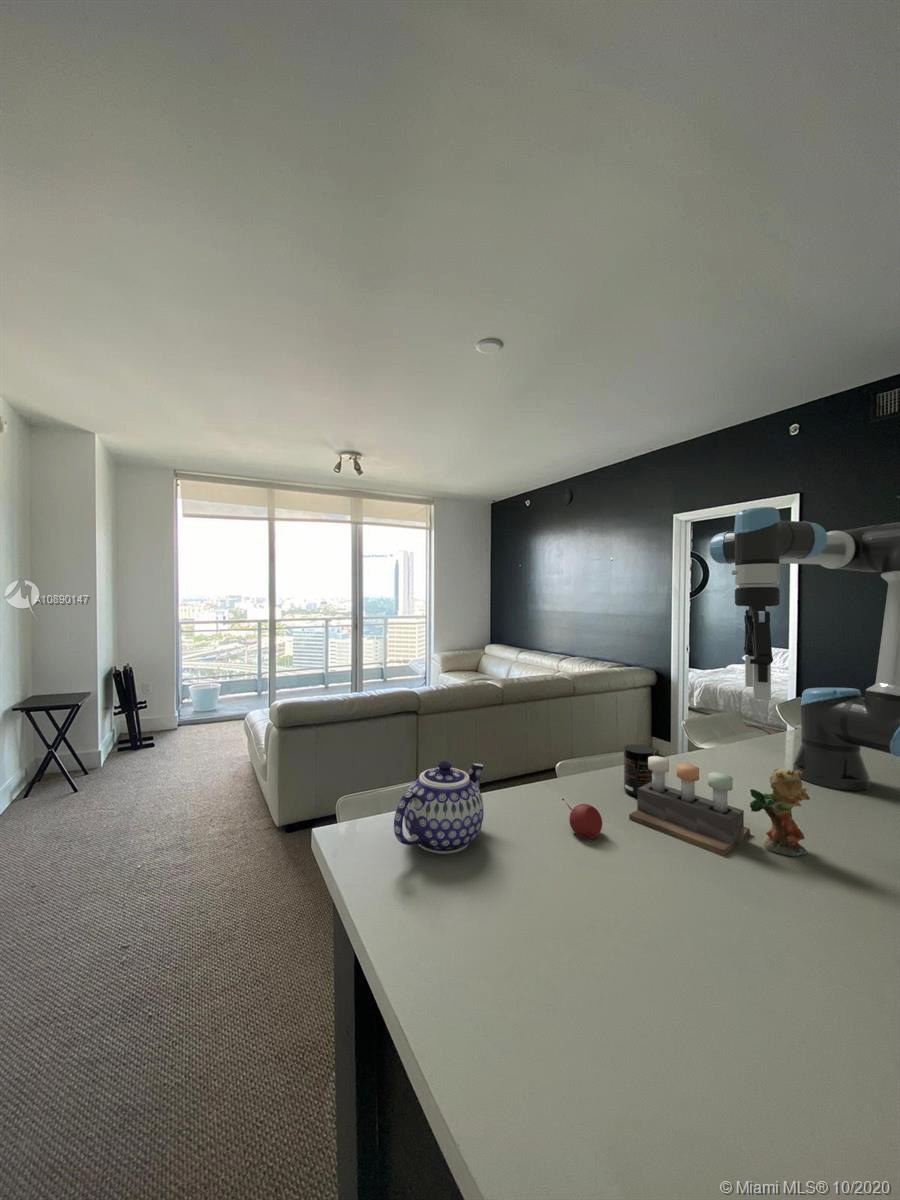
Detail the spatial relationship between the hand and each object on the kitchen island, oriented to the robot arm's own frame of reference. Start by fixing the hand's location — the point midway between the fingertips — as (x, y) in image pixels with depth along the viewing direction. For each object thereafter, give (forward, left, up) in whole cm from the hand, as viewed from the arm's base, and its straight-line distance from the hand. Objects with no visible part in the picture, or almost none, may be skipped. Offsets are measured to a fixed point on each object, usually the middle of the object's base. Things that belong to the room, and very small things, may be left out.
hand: (757, 692), depth 94 cm
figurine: (+6, +5, -27) cm, 28 cm away
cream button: (+11, -15, -21) cm, 28 cm away
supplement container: (+3, -23, -27) cm, 36 cm away
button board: (+11, -9, -27) cm, 30 cm away
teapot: (+52, -35, -27) cm, 68 cm away
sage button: (+11, -3, -21) cm, 24 cm away
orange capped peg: (+11, -9, -21) cm, 26 cm away
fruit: (+29, -21, -27) cm, 45 cm away
